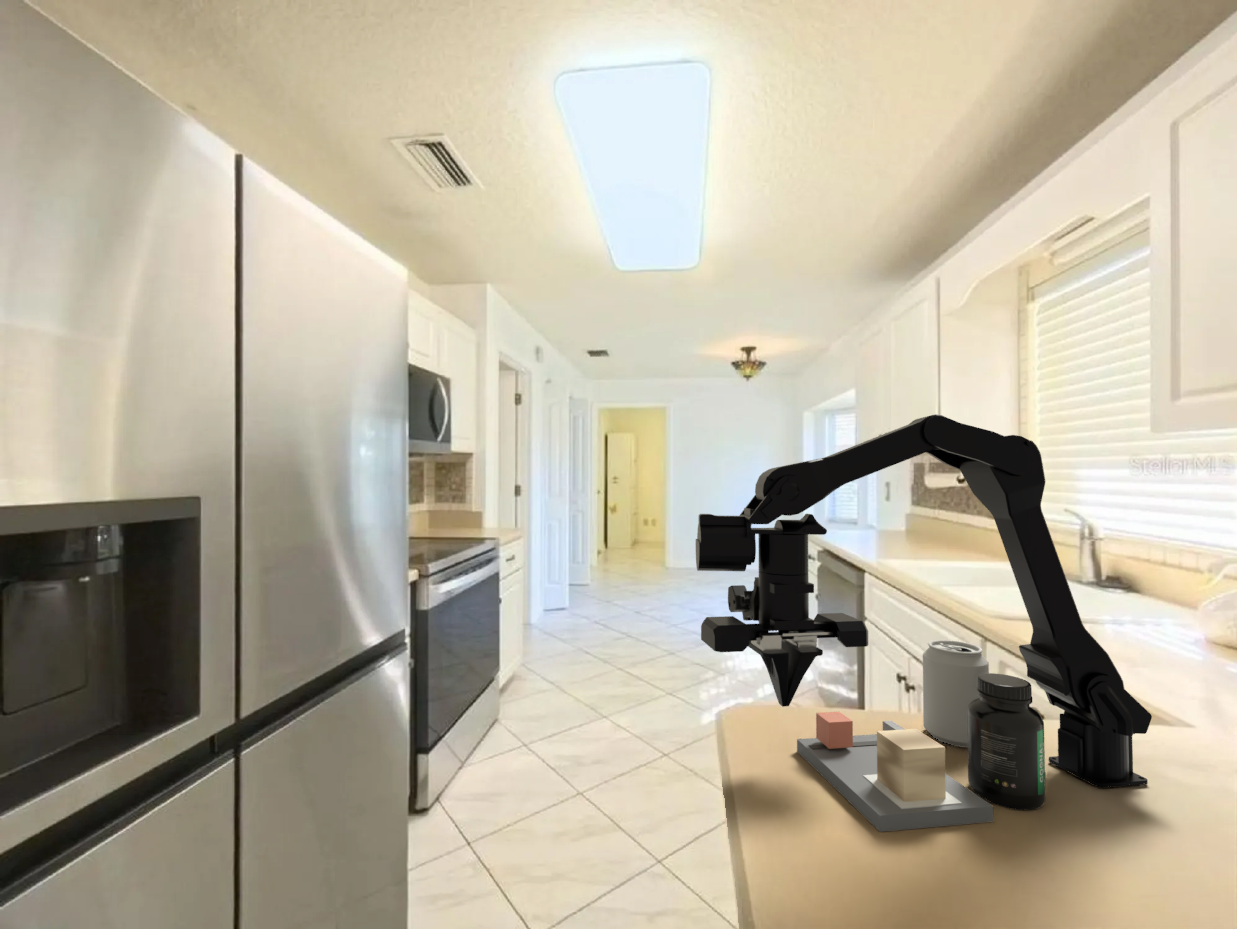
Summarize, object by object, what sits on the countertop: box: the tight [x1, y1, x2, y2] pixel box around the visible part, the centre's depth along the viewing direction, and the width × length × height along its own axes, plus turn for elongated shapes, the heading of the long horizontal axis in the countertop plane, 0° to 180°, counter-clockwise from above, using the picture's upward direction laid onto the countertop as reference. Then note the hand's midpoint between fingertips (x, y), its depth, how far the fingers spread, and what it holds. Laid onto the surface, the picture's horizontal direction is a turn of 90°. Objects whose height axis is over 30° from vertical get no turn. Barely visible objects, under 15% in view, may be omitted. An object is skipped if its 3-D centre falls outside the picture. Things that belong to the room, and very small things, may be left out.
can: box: [922, 639, 990, 748], centre depth 77 cm, size 8×8×12 cm
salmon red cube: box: [815, 711, 854, 749], centre depth 70 cm, size 3×3×3 cm
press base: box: [796, 720, 994, 833], centre depth 65 cm, size 12×17×4 cm
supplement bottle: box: [967, 672, 1046, 811], centre depth 63 cm, size 7×7×12 cm
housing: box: [876, 728, 946, 802], centre depth 60 cm, size 4×4×5 cm
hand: (783, 705), depth 69 cm, fingers closed
